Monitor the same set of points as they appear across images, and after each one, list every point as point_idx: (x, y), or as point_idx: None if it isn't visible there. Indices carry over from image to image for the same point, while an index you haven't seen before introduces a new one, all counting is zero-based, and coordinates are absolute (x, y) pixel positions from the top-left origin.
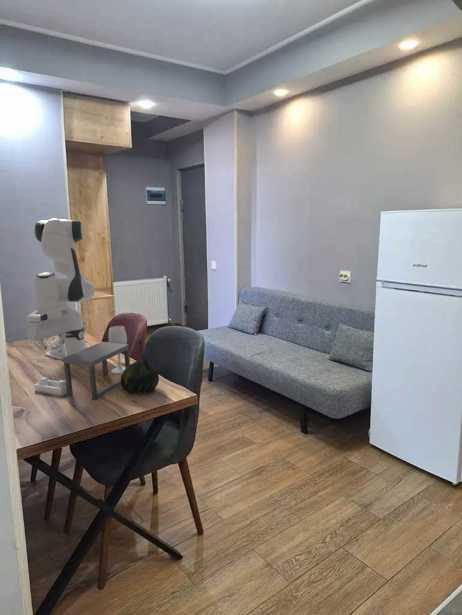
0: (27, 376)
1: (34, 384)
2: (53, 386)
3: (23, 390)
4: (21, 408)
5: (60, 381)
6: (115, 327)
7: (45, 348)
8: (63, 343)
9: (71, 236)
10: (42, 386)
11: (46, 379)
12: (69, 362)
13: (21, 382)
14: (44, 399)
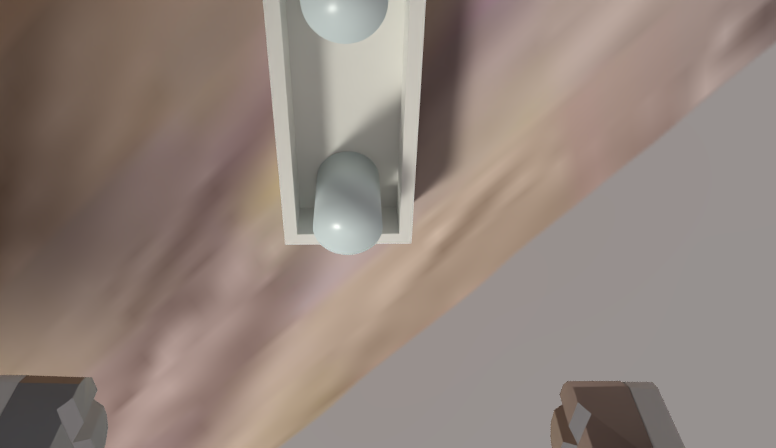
0: (219, 420)
1: (410, 243)
2: (300, 128)
3: (419, 286)
4: (728, 56)
5: (349, 12)
6: None
7: (618, 398)
8: (35, 376)
9: None
10: (415, 161)
11: (348, 195)
12: None
13: (313, 384)
14: (532, 11)
